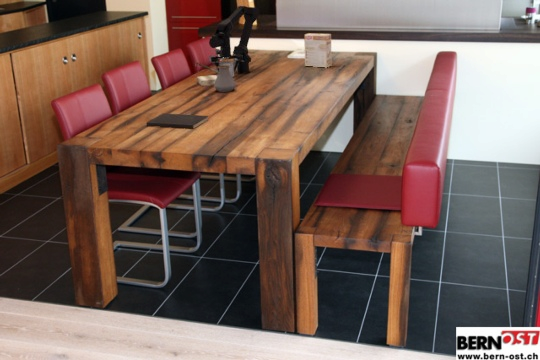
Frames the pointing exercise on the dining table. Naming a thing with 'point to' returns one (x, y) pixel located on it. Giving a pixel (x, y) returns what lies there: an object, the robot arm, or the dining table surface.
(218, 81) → the coffee pot
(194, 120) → the hardcover book
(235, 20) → the robot arm
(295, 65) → the dining table surface
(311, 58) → the coffeecake box
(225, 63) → the medicine box
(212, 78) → the cream shallow bowl
